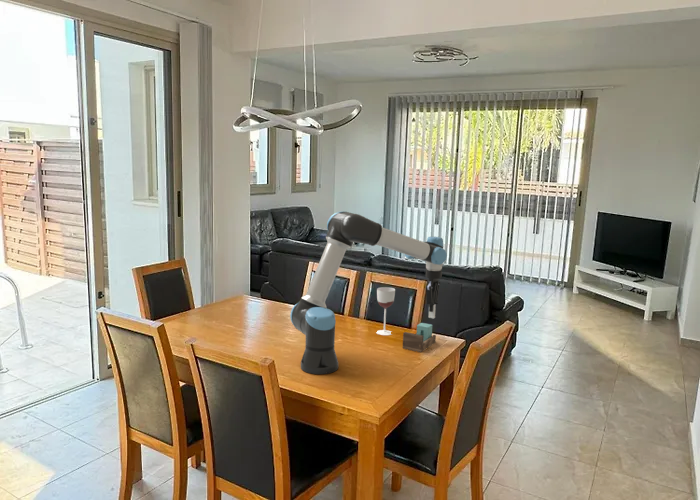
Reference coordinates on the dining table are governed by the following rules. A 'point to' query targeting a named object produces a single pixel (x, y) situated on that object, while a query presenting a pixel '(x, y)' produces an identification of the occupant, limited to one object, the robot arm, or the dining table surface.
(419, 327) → the block
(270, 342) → the dining table surface
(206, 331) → the dining table surface
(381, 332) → the wineglass
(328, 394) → the dining table surface
